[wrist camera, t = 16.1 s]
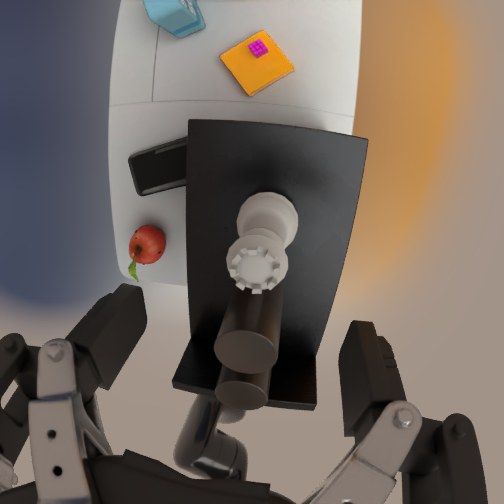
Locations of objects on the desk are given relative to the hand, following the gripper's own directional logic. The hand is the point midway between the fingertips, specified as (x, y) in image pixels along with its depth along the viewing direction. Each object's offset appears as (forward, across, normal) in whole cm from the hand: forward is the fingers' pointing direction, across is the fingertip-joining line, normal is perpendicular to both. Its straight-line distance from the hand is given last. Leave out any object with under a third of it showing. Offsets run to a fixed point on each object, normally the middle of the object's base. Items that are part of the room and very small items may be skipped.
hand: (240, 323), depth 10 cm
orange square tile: (+37, +5, -16) cm, 40 cm away
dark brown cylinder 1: (+12, 0, +6) cm, 14 cm away
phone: (+36, +18, +1) cm, 41 cm away
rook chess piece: (+12, 0, 0) cm, 12 cm away
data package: (+37, +18, -27) cm, 49 cm away
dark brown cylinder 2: (+12, 0, +11) cm, 16 cm away
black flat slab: (+13, 0, +4) cm, 14 cm away
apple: (+36, +21, +15) cm, 45 cm away
